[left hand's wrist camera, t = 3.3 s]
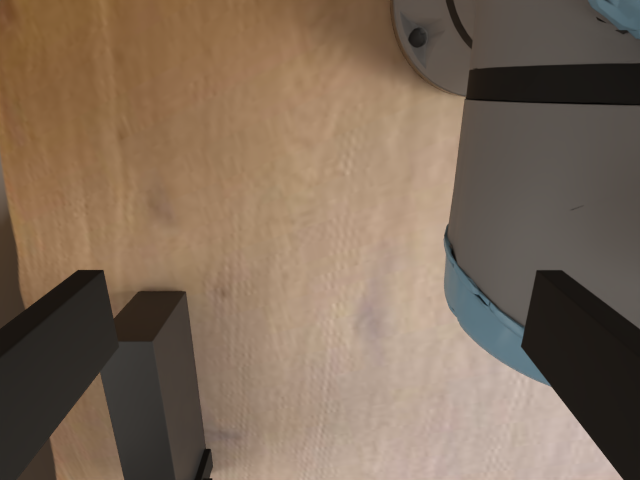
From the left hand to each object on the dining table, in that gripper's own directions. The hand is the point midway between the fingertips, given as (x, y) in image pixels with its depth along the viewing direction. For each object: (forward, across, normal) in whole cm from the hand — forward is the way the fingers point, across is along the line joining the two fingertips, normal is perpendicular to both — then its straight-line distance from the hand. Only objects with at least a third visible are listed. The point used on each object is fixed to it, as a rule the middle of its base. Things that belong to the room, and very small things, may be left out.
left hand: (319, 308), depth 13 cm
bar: (+26, -16, -26) cm, 40 cm away
